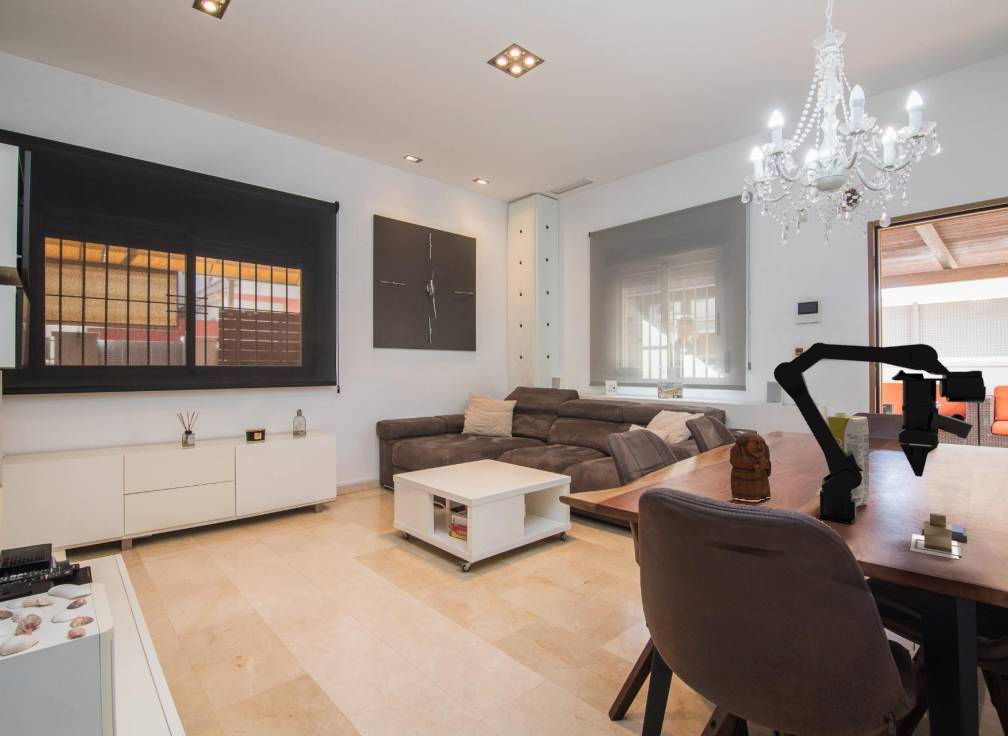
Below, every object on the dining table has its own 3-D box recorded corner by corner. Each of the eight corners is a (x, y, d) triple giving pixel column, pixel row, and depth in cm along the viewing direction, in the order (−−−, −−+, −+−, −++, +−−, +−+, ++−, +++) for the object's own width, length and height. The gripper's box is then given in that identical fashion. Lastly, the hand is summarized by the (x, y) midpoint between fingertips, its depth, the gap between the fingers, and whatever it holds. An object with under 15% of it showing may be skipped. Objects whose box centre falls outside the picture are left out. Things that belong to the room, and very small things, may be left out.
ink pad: (922, 534, 106) (922, 526, 106) (922, 526, 112) (922, 519, 112) (966, 541, 102) (966, 534, 102) (965, 533, 107) (965, 525, 107)
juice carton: (839, 497, 136) (839, 409, 136) (872, 504, 129) (872, 412, 129) (821, 502, 132) (820, 411, 132) (854, 509, 125) (853, 413, 125)
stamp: (924, 547, 98) (924, 515, 98) (924, 542, 101) (924, 510, 101) (951, 552, 95) (951, 519, 95) (951, 547, 98) (951, 514, 98)
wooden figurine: (749, 505, 130) (748, 435, 130) (727, 499, 135) (727, 432, 135) (776, 498, 135) (776, 432, 135) (754, 493, 141) (754, 430, 141)
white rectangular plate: (910, 550, 97) (910, 549, 97) (912, 534, 106) (912, 533, 106) (961, 560, 92) (961, 558, 92) (959, 542, 101) (959, 541, 101)
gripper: (971, 405, 97) (971, 486, 97) (967, 400, 111) (968, 471, 111) (898, 403, 104) (898, 478, 104) (903, 398, 118) (903, 464, 118)
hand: (919, 472), depth 109 cm, fingers open, 9 cm apart
